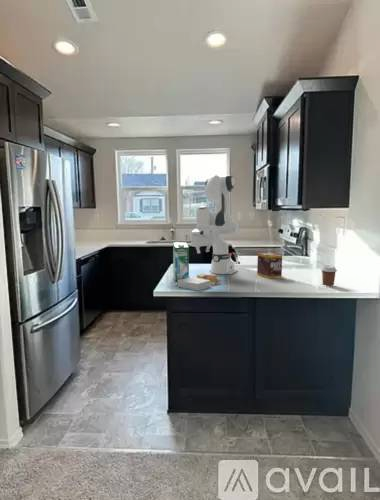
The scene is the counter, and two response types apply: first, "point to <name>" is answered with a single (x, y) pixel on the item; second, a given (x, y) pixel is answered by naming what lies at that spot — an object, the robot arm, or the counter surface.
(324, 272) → the coffee cup
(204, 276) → the beige stepped block
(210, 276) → the salmon pink cube
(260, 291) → the counter surface
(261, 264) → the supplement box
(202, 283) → the block
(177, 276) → the milk carton
